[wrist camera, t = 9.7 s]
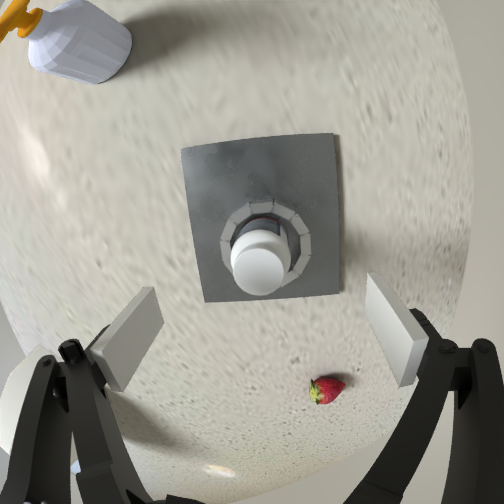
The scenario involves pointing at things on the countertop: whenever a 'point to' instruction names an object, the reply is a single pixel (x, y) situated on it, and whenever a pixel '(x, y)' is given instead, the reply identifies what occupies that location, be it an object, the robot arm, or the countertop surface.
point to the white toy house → (21, 398)
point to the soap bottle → (70, 39)
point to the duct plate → (265, 209)
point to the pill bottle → (261, 256)
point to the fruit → (325, 390)
